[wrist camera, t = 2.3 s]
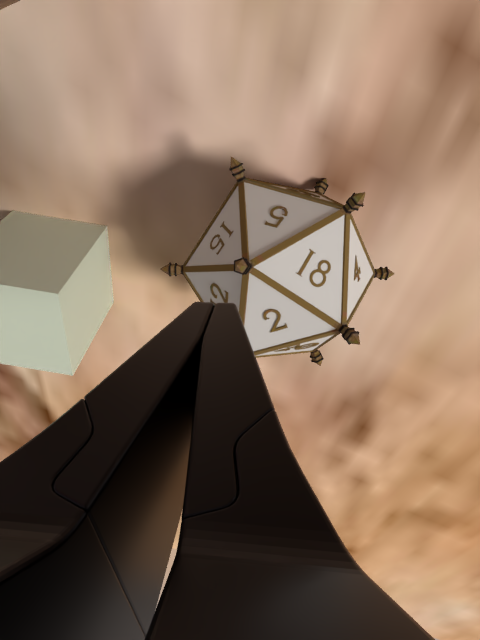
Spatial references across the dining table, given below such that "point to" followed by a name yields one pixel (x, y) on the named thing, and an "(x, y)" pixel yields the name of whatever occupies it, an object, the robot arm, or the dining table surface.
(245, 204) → the game die
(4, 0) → the walnut cube
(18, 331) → the sage block
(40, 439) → the robot arm
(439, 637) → the dining table surface
